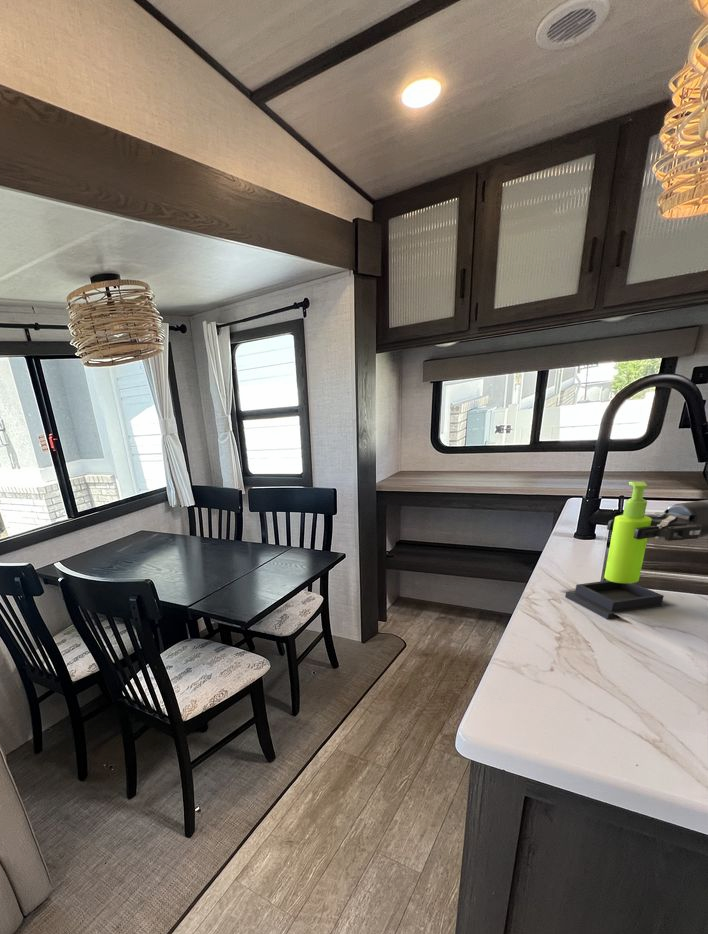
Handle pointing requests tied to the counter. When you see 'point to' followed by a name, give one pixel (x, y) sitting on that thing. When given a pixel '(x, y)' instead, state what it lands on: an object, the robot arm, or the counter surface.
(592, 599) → the black square tray
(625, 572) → the soap dispenser
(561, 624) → the counter surface
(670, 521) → the robot arm
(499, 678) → the counter surface
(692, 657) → the counter surface
